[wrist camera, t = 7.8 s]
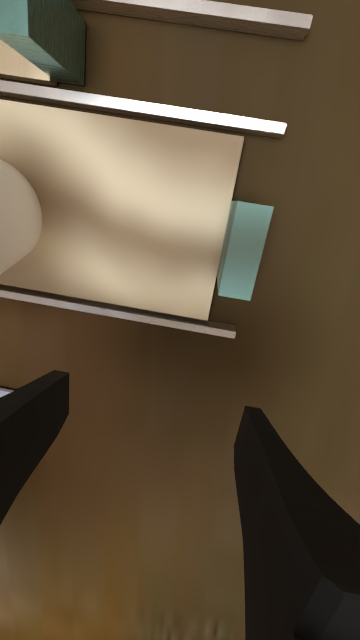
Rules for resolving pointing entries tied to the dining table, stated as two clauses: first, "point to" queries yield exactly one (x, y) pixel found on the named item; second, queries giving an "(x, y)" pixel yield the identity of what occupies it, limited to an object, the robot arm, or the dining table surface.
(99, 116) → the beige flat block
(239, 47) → the dining table surface
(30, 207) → the cup
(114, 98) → the lane rails
